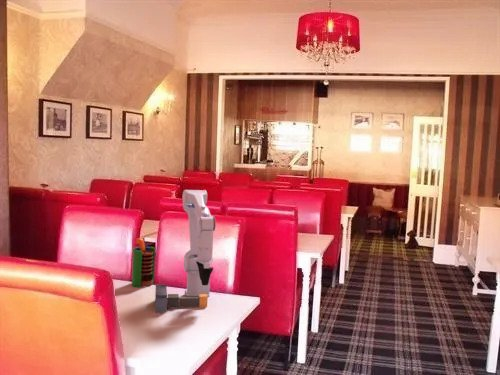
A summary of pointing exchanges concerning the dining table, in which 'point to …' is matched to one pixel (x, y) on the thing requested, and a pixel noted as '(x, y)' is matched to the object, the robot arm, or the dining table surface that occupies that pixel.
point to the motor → (143, 265)
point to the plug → (186, 301)
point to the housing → (161, 298)
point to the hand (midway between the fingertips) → (203, 282)
